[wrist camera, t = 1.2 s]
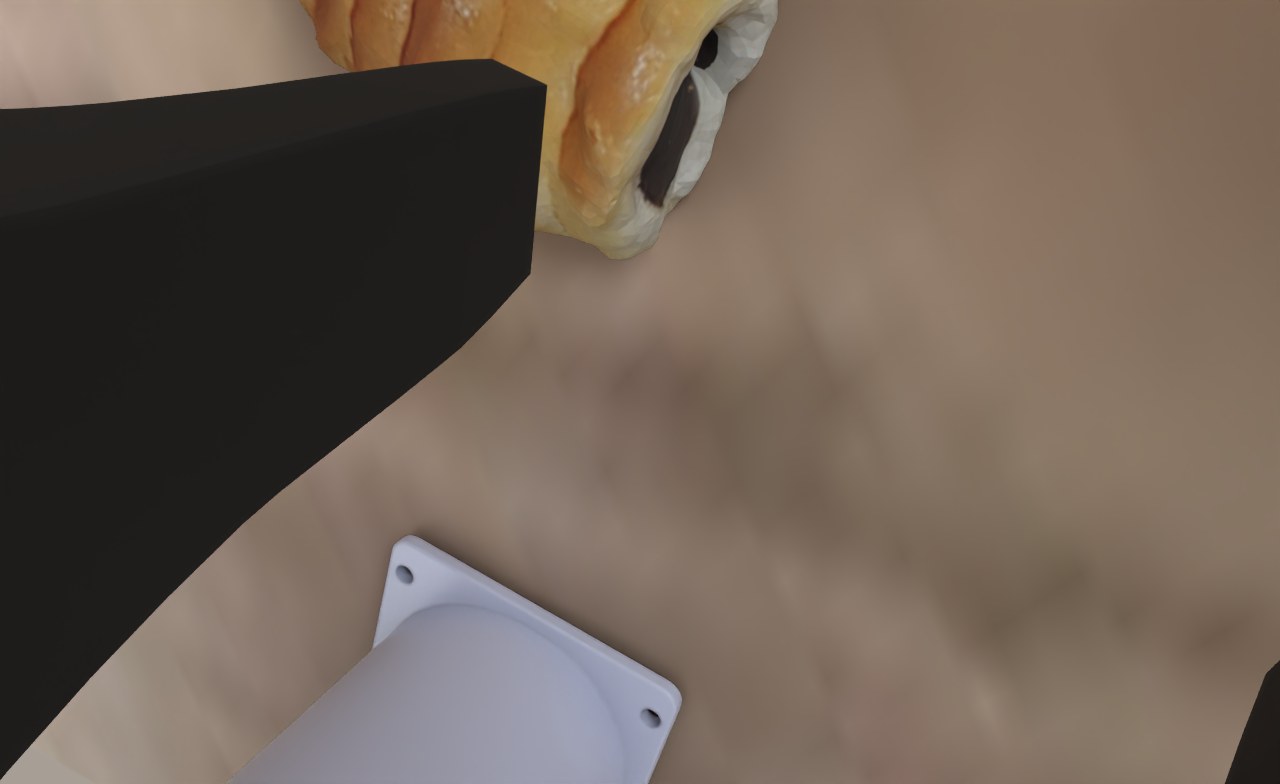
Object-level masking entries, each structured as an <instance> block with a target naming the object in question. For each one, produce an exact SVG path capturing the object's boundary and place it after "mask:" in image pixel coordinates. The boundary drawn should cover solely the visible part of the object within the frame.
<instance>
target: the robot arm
mask: <svg viewBox="0 0 1280 784" xmlns="http://www.w3.org/2000/svg"><path fill="white" fill-rule="evenodd" d="M546 95H547V85H546V84H544V83H542V82H540V81H538V80H536V79H534V78H532V77H530V76H527V75H525V74H523V73H521V72H519V71H517V70H515V69H513V68H511V67H508V66H506V65H504V64H502V63H500V62H498V61H496V60H494V59H462V60H449V61H438V62H428V63H420V64H411V65H403V66H395V67H388V68H380V69H373V70H366V71H359V72H351V73H344V74H337V75H330V76H323V77H316V78H309V79H302V80H294V81H287V82H280V83H273V84H266V85H259V86H252V87H244V88H237V89H228V90H219V91H210V92H201V93H192V94H182V95H173V96H164V97H155V98H146V99H137V100H128V101H119V102H109V103H98V104H86V105H73V106H57V107H41V108H22V109H0V780H1V779H2V777H3V776H4V775H5V774H6V772H7V771H8V770H9V769H10V768H11V767H12V765H14V763H15V762H16V761H17V760H18V759H19V758H20V757H21V755H22V754H23V753H24V752H25V751H26V750H27V749H28V748H29V747H30V745H31V744H32V743H33V742H34V741H35V740H36V739H37V738H38V736H39V735H40V734H41V733H42V732H43V731H44V730H45V729H46V727H47V726H48V725H49V724H50V723H51V722H52V721H53V720H54V718H55V717H56V716H57V715H58V714H59V713H60V712H61V711H62V709H63V708H64V707H65V706H66V705H67V704H68V703H69V702H70V700H71V699H72V698H73V697H74V696H75V695H76V694H77V693H78V691H79V690H80V689H81V688H82V687H83V686H84V685H85V684H86V682H87V681H88V680H89V679H90V678H91V677H92V676H93V675H94V674H95V673H96V672H97V671H98V670H99V668H100V667H101V666H102V665H103V664H104V663H105V662H106V661H107V660H108V659H109V658H110V657H111V656H112V655H113V654H114V653H115V652H116V651H117V650H118V649H119V648H120V647H121V646H122V644H123V643H124V642H125V641H126V640H127V639H128V638H129V637H130V636H131V635H132V634H133V633H134V632H135V631H136V630H137V629H138V628H139V627H140V626H141V625H142V624H143V623H144V621H145V620H146V619H147V618H148V617H149V616H150V615H151V614H152V613H153V612H154V611H155V610H156V609H157V608H158V607H159V606H160V605H161V604H162V603H163V602H164V601H165V600H166V598H167V597H168V596H169V595H170V594H172V593H173V592H174V591H175V590H176V589H177V588H178V587H179V586H180V585H181V584H182V583H183V582H184V581H185V580H186V579H187V578H188V577H189V576H190V575H191V574H192V573H193V572H194V571H195V570H196V569H197V568H198V567H199V566H200V565H201V564H202V563H203V562H204V561H205V560H206V559H207V558H208V557H209V556H210V555H211V554H212V553H213V552H214V551H215V550H216V549H218V548H219V547H220V546H221V545H222V544H223V543H224V542H225V541H226V540H227V539H228V538H229V537H230V536H231V535H232V534H233V533H234V532H235V531H236V530H237V529H238V528H239V527H240V526H241V525H242V524H243V523H244V522H245V521H247V520H248V519H249V518H250V517H251V516H252V515H254V514H255V513H256V512H257V511H258V510H259V509H261V508H262V507H263V506H264V505H265V504H266V503H268V502H269V501H270V500H271V499H272V498H273V497H274V496H276V495H277V494H278V493H279V492H280V491H281V490H283V489H284V488H285V487H286V486H288V485H289V484H290V483H292V482H293V481H294V480H295V479H297V478H298V477H299V476H300V475H302V474H303V473H304V472H306V471H307V470H308V469H309V468H311V467H312V466H313V465H314V464H316V463H317V462H318V461H320V460H321V459H322V458H323V457H325V456H326V455H327V454H328V453H330V452H331V451H332V450H334V449H335V448H336V447H337V446H339V445H340V444H341V443H342V442H344V441H345V440H346V439H348V438H349V437H350V436H351V435H353V434H354V433H355V432H356V431H358V430H359V429H360V428H362V427H363V426H364V425H365V424H367V423H368V422H369V421H370V420H372V419H373V418H374V417H376V416H377V415H378V414H379V413H381V412H382V411H383V410H384V409H386V408H387V407H388V406H390V405H391V404H392V403H393V402H395V401H396V400H397V399H398V398H400V397H401V396H402V395H403V394H405V393H406V392H407V391H408V390H410V389H411V388H412V387H413V386H415V385H416V384H417V383H418V382H420V381H421V380H422V379H423V378H425V377H426V376H427V375H428V374H429V373H431V372H432V371H433V370H434V369H436V368H437V367H438V366H439V365H441V364H442V363H443V362H444V361H446V360H447V359H448V358H449V357H450V356H452V355H453V354H454V353H455V352H456V351H458V350H459V349H460V348H461V347H462V346H463V345H464V344H465V343H466V342H467V341H468V340H469V339H470V338H471V337H472V336H473V335H474V334H475V333H476V332H477V331H478V330H479V329H480V328H481V327H482V326H483V325H484V324H485V323H486V322H487V321H488V320H489V319H490V318H491V317H492V316H493V315H494V313H495V312H496V311H497V310H498V309H499V308H500V307H501V306H502V305H503V303H504V302H505V301H506V300H507V299H508V298H509V297H510V296H511V295H512V293H513V292H514V291H515V290H516V289H517V288H518V287H519V286H520V285H521V283H522V282H523V281H524V280H525V279H526V278H527V277H528V276H529V275H530V272H531V261H532V250H533V239H534V228H535V217H536V206H537V195H538V184H539V173H540V162H541V151H542V140H543V129H544V118H545V107H546ZM406 567H407V568H408V569H409V570H410V571H411V573H412V574H411V573H410V572H409V571H408V570H407V568H406ZM681 703H682V698H681V694H680V692H679V690H678V689H677V687H676V686H675V685H674V684H673V683H671V682H670V681H669V680H667V679H665V678H664V677H662V676H660V675H658V674H657V673H655V672H653V671H651V670H650V669H648V668H646V667H644V666H643V665H641V664H639V663H637V662H636V661H634V660H632V659H630V658H629V657H627V656H625V655H623V654H622V653H620V652H618V651H616V650H615V649H613V648H611V647H609V646H608V645H606V644H604V643H602V642H601V641H599V640H597V639H595V638H594V637H592V636H590V635H588V634H587V633H585V632H583V631H581V630H580V629H578V628H576V627H574V626H573V625H571V624H569V623H568V622H566V621H564V620H562V619H561V618H559V617H557V616H555V615H554V614H552V613H550V612H548V611H547V610H545V609H543V608H541V607H540V606H538V605H536V604H534V603H533V602H531V601H529V600H527V599H526V598H524V597H522V596H520V595H519V594H517V593H515V592H513V591H512V590H510V589H508V588H506V587H505V586H503V585H501V584H499V583H498V582H496V581H494V580H492V579H491V578H489V577H487V576H485V575H484V574H482V573H480V572H478V571H477V570H475V569H473V568H471V567H470V566H468V565H466V564H464V563H463V562H461V561H459V560H458V559H456V558H454V557H452V556H451V555H449V554H447V553H445V552H444V551H442V550H440V549H438V548H437V547H435V546H433V545H431V544H430V543H428V542H426V541H424V540H423V539H421V538H419V537H416V536H414V535H406V536H405V537H403V538H402V539H401V540H399V541H398V542H397V543H396V544H395V545H394V547H393V549H392V553H391V558H390V563H389V568H388V573H387V578H386V583H385V588H384V593H383V598H382V603H381V608H380V613H379V618H378V623H377V628H376V633H375V638H374V643H373V648H372V651H371V652H370V653H368V654H367V655H366V656H365V657H364V658H363V659H362V660H361V661H360V662H359V663H357V664H356V665H355V666H354V667H353V668H352V669H351V670H350V671H349V672H348V673H346V674H345V675H344V676H343V677H342V678H341V679H340V680H339V681H338V682H336V683H335V684H334V685H333V686H332V687H331V688H330V689H329V690H328V691H327V692H325V693H324V694H323V695H322V696H321V697H320V698H319V699H318V700H317V701H316V702H314V703H313V704H312V705H311V706H310V707H309V708H308V709H307V710H306V711H305V712H303V713H302V714H301V715H300V716H299V717H298V718H297V719H296V720H295V721H294V722H292V723H291V724H290V725H289V726H288V727H287V728H286V729H285V730H284V731H283V732H281V733H280V734H279V735H278V736H277V737H276V738H275V739H274V740H273V741H271V742H270V743H269V744H268V745H267V746H266V747H265V748H264V749H263V750H262V751H260V752H259V753H258V754H257V755H256V756H255V757H254V758H253V759H252V760H251V761H249V762H248V763H247V764H246V765H245V766H244V767H243V768H242V769H241V770H240V771H238V772H237V773H236V774H235V775H234V776H233V777H232V778H231V779H230V780H229V781H227V782H226V783H225V784H648V783H649V781H650V779H651V776H652V774H653V771H654V769H655V767H656V764H657V762H658V760H659V757H660V755H661V752H662V750H663V748H664V745H665V743H666V741H667V738H668V736H669V734H670V731H671V729H672V726H673V724H674V722H675V719H676V717H677V715H678V712H679V710H680V707H681ZM648 709H649V710H652V711H654V712H655V713H656V714H657V715H658V716H659V717H656V716H654V715H653V714H651V713H650V712H649V710H648ZM1225 784H1280V661H1279V662H1278V663H1276V664H1275V665H1274V666H1273V667H1272V668H1271V669H1270V670H1269V671H1268V672H1267V673H1266V675H1265V678H1264V680H1263V683H1262V685H1261V688H1260V691H1259V693H1258V696H1257V698H1256V701H1255V704H1254V706H1253V709H1252V711H1251V714H1250V716H1249V719H1248V722H1247V724H1246V727H1245V729H1244V732H1243V735H1242V737H1241V740H1240V743H1239V745H1238V748H1237V751H1236V754H1235V757H1234V760H1233V762H1232V765H1231V768H1230V771H1229V774H1228V776H1227V779H1226V782H1225Z"/></svg>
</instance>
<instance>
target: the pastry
mask: <svg viewBox="0 0 1280 784" xmlns="http://www.w3.org/2000/svg"><path fill="white" fill-rule="evenodd" d="M300 2H301V4H302V5H303V7H304V9H305V10H306V11H307V13H308V15H309V16H310V18H311V19H312V20H313V22H314V25H315V29H316V33H317V35H316V40H317V41H318V44H319V48H320V49H321V50H322V51H323V52H324V53H325V54H326V55H327V56H329V57H330V59H331V60H332V61H333V62H334V63H335V64H337V65H339V66H341V67H343V68H345V69H347V70H348V71H350V72H359V71H366V70H373V69H380V68H388V67H395V66H403V65H411V64H420V63H428V62H438V61H449V60H462V59H494V60H496V61H498V62H500V63H502V64H504V65H506V66H508V67H511V68H513V69H515V70H517V71H519V72H521V73H523V74H525V75H527V76H530V77H532V78H534V79H536V80H538V81H540V82H542V83H544V84H546V85H547V95H546V107H545V118H544V129H543V140H542V151H541V162H540V173H539V184H538V195H537V206H536V217H535V228H534V231H542V232H547V233H552V234H558V235H564V236H568V237H572V238H576V239H579V240H581V241H583V242H585V243H589V244H592V245H594V246H595V247H597V248H598V249H599V250H600V251H601V252H602V253H603V254H604V255H605V256H607V257H608V258H610V259H616V260H624V259H629V258H632V257H634V256H635V255H637V254H639V253H641V252H643V251H645V250H647V249H650V248H651V247H652V246H653V245H654V244H655V242H656V241H657V239H658V236H659V233H660V229H661V226H662V222H663V219H664V218H665V216H666V215H667V214H668V213H669V212H670V211H671V210H672V209H673V208H674V207H675V205H676V204H677V203H678V202H679V201H680V200H681V199H682V198H683V197H684V196H686V195H687V194H688V193H689V192H690V191H691V190H692V189H693V187H694V186H695V184H696V183H697V181H698V180H699V178H700V176H701V174H702V172H703V170H704V168H705V166H706V164H707V163H708V161H709V159H710V158H711V153H712V147H713V143H714V139H715V136H716V134H717V132H718V130H719V128H720V126H721V123H722V119H723V115H724V111H725V107H726V100H727V97H728V93H729V92H730V91H731V90H732V89H733V88H734V87H735V86H736V84H737V83H738V82H740V81H742V80H744V79H745V77H746V76H747V75H748V74H749V73H750V72H751V71H752V70H753V68H754V67H755V66H756V64H757V62H758V61H759V59H760V58H761V56H762V54H763V51H764V48H765V45H766V42H767V40H768V38H769V36H770V33H771V31H772V29H773V27H774V25H775V23H776V21H777V16H778V0H300Z"/></svg>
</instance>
